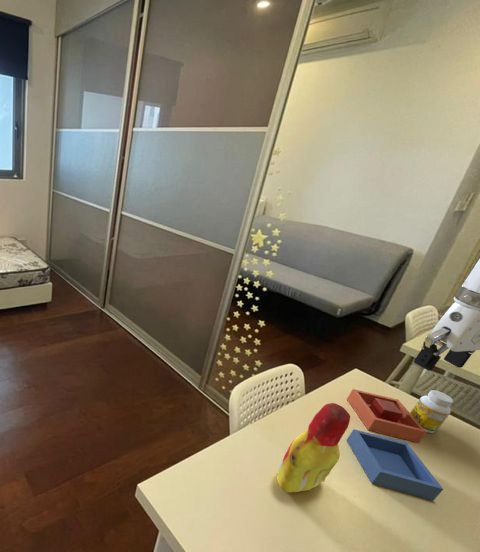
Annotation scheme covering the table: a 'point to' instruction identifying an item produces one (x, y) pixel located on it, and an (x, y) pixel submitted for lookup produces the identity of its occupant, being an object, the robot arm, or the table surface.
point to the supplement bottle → (432, 410)
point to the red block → (385, 410)
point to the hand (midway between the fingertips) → (437, 365)
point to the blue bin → (393, 465)
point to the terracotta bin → (402, 429)
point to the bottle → (314, 450)
